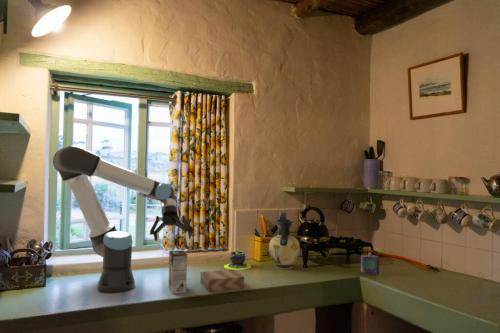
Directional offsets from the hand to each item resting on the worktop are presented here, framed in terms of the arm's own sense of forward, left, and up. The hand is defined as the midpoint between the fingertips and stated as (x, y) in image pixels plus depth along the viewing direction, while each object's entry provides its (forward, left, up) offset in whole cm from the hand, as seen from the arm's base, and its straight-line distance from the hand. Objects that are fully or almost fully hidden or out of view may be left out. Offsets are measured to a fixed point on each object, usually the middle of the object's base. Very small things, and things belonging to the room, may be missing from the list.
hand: (173, 245), depth 162 cm
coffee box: (0, -11, -17) cm, 20 cm away
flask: (+100, -15, -17) cm, 103 cm away
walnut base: (+20, -11, -17) cm, 28 cm away
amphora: (+63, +11, -17) cm, 66 cm away
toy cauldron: (+39, +21, -18) cm, 48 cm away
